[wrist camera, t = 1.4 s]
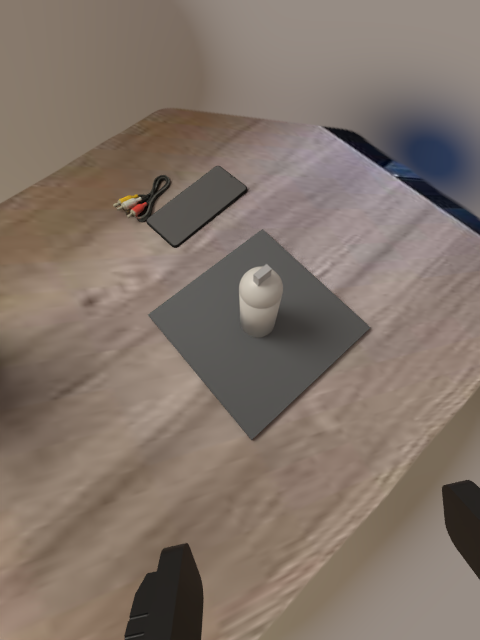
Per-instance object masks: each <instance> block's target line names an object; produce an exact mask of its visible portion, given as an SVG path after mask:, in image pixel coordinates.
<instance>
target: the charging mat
mask: <svg viewBox="0 0 480 640" xmlns="http://www.w3.org/2000/svg"><path fill="white" fill-rule="evenodd" d="M266 264H267V265H268V266H269V267H270V268H271V269H272V270H274V271H275V272H276V273H277V274H278V275H279V276H280V278H281V280H282V284H283V293H282V297H281V301H280V305H279V309H278V313H277V317H276V322H275V326H274V328H273V330H272V331H271V332H270V333H269V334H268V335H266V336H264V337H259V338H257V337H252V336H250V335H248V334H246V333H245V332H244V330H243V329H242V327H241V323H240V301H239V284H240V281H241V279H242V277H243V275H244V274H245V273H246V272H247V271H249V270H250V269H252V268H255V267H263V266H264V265H266ZM148 315H149V317H150V318H151V319H152V320H153V322H154V323H155V324H156V325H157V326H158V328H159V329H160V330H161V331H162V332H163V334H164V335H165V336H166V337H167V339H168V340H169V341H170V342H171V343H172V345H173V346H174V347H175V348H176V349H177V351H178V352H179V353H180V354H181V355H182V357H183V358H184V359H185V360H186V361H187V363H188V364H189V365H190V366H191V368H192V369H193V370H194V371H195V372H196V374H197V375H198V376H199V377H200V378H201V380H202V381H203V382H204V383H205V384H206V386H207V387H208V388H209V389H210V390H211V392H212V393H213V394H214V395H215V397H216V398H217V399H218V400H219V401H220V403H221V404H222V405H223V406H224V407H225V409H226V410H227V411H228V412H229V413H230V415H231V416H232V417H233V418H234V419H235V421H236V422H237V423H238V424H239V426H240V427H241V428H242V429H243V430H244V432H245V433H246V434H247V435H248V436H249V438H250V439H251V440H252V439H253V438H254V437H255V436H256V435H257V434H259V433H260V432H261V431H262V430H263V429H264V428H265V427H266V426H267V425H268V424H269V423H270V422H271V421H272V420H273V419H274V418H275V417H277V416H278V415H279V414H280V413H281V412H282V411H283V410H284V409H285V408H286V407H287V406H288V405H289V404H290V403H291V402H292V401H293V400H294V399H296V398H297V397H298V396H299V395H300V394H301V393H302V392H303V391H304V390H305V389H306V388H307V387H308V386H309V385H310V384H311V383H312V382H314V381H315V380H316V379H317V378H318V377H319V376H320V375H321V374H322V373H323V372H324V371H325V370H326V369H327V368H328V367H329V366H330V365H332V364H333V363H334V362H335V361H336V360H337V359H338V358H339V357H340V356H341V355H342V354H343V353H344V352H345V351H346V350H347V349H348V348H349V347H351V346H352V345H353V344H354V343H355V342H356V341H357V340H358V339H359V338H360V337H361V336H362V335H363V334H364V333H365V332H366V331H367V330H369V329H370V328H371V327H369V326H368V325H367V324H366V323H365V322H364V321H363V320H362V319H361V318H360V317H358V316H357V315H356V314H355V313H354V312H353V311H352V310H351V309H350V308H348V307H347V306H346V305H345V304H344V303H343V302H342V301H341V300H340V299H339V298H337V297H336V296H335V295H334V294H333V293H332V292H331V291H330V290H329V289H328V288H326V287H325V286H324V285H323V284H322V283H321V282H320V281H319V280H318V279H317V278H315V277H314V276H313V275H312V274H311V273H310V272H309V271H308V270H307V269H306V268H304V267H303V266H302V265H301V264H300V263H299V262H298V261H297V260H296V259H295V258H293V257H292V256H291V255H290V254H289V253H288V252H287V251H286V250H285V249H284V248H282V247H281V246H280V245H279V244H278V243H277V242H276V241H275V240H274V239H273V238H271V237H270V236H269V235H268V234H267V233H266V232H265V231H264V230H263V229H262V230H261V231H259V232H258V233H257V234H255V235H254V236H253V237H251V238H250V239H249V240H247V241H246V242H245V243H243V244H242V245H241V246H239V247H238V248H237V249H235V250H234V251H233V252H231V253H230V254H229V255H227V256H226V257H225V258H223V259H222V260H221V261H219V262H218V263H217V264H215V265H214V266H213V267H211V268H210V269H209V270H207V271H206V272H205V273H203V274H202V275H200V276H199V277H198V278H196V279H195V280H194V281H192V282H191V283H190V284H188V285H187V286H186V287H184V288H183V289H182V290H180V291H179V292H178V293H176V294H175V295H174V296H172V297H171V298H170V299H168V300H167V301H166V302H164V303H163V304H162V305H160V306H159V307H158V308H156V309H155V310H154V311H152V312H151V313H150V314H148Z"/></svg>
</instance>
